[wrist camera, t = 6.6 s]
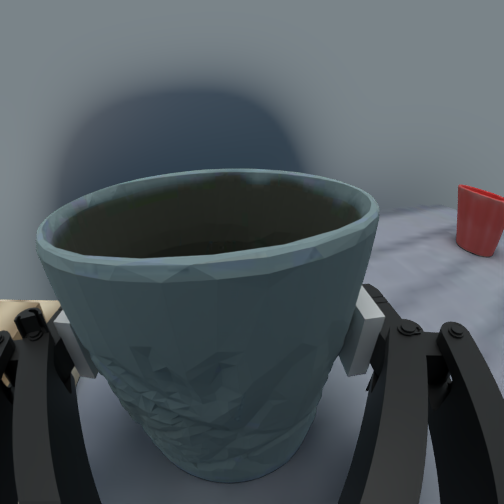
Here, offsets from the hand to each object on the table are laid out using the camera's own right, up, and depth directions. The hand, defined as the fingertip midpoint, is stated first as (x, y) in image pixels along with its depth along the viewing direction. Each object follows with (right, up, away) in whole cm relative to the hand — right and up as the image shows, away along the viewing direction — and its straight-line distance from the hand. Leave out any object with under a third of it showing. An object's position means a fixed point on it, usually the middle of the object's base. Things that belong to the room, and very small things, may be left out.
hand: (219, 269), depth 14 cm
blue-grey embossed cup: (0, -8, -1) cm, 8 cm away
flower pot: (+39, +1, +21) cm, 44 cm away
